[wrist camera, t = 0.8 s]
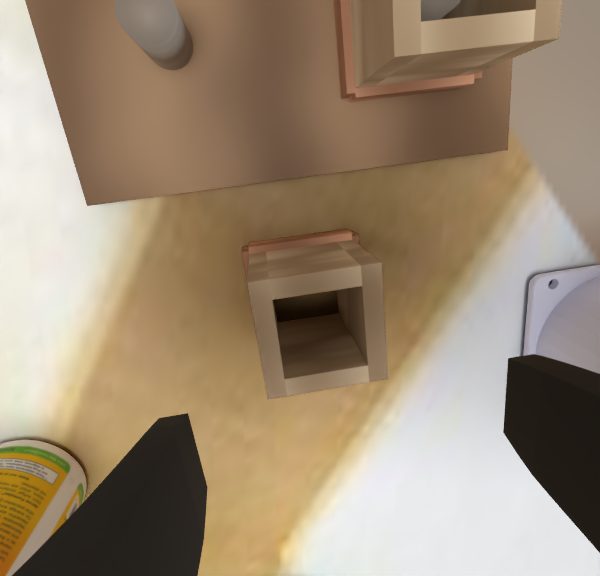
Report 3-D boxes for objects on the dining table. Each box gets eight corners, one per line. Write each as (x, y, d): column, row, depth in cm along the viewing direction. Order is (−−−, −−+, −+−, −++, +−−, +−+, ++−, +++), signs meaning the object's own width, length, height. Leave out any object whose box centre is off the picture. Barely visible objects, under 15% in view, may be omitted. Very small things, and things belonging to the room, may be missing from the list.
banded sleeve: (352, 228, 17) (390, 252, 12) (360, 328, 18) (396, 384, 14) (241, 243, 16) (235, 275, 12) (259, 344, 18) (260, 407, 13)
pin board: (505, -149, 13) (605, -275, 9) (493, 150, 16) (563, 146, 13) (5, -110, 12) (-108, -235, 8) (97, 203, 15) (45, 215, 12)
